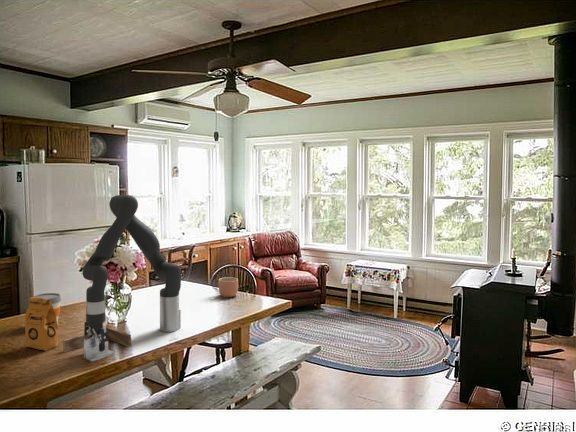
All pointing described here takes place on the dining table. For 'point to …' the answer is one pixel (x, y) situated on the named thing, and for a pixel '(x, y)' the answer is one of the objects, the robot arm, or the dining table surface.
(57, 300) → the reusable coffee cup
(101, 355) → the angle bracket
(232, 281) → the planter
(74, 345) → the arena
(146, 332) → the dining table surface
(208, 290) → the dining table surface
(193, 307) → the dining table surface
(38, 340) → the coffee package
